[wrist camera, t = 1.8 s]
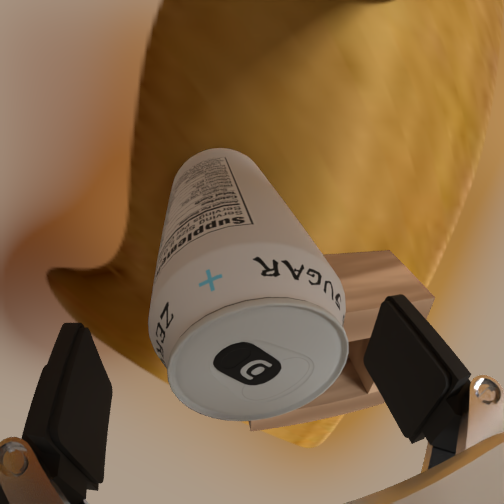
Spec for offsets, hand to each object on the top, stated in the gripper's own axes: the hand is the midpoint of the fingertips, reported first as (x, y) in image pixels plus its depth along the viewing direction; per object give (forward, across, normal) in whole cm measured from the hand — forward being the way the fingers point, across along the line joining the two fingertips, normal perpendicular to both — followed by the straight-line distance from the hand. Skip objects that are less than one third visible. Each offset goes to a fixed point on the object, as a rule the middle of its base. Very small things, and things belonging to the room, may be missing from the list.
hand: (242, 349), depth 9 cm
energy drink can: (+14, 0, -1) cm, 14 cm away
